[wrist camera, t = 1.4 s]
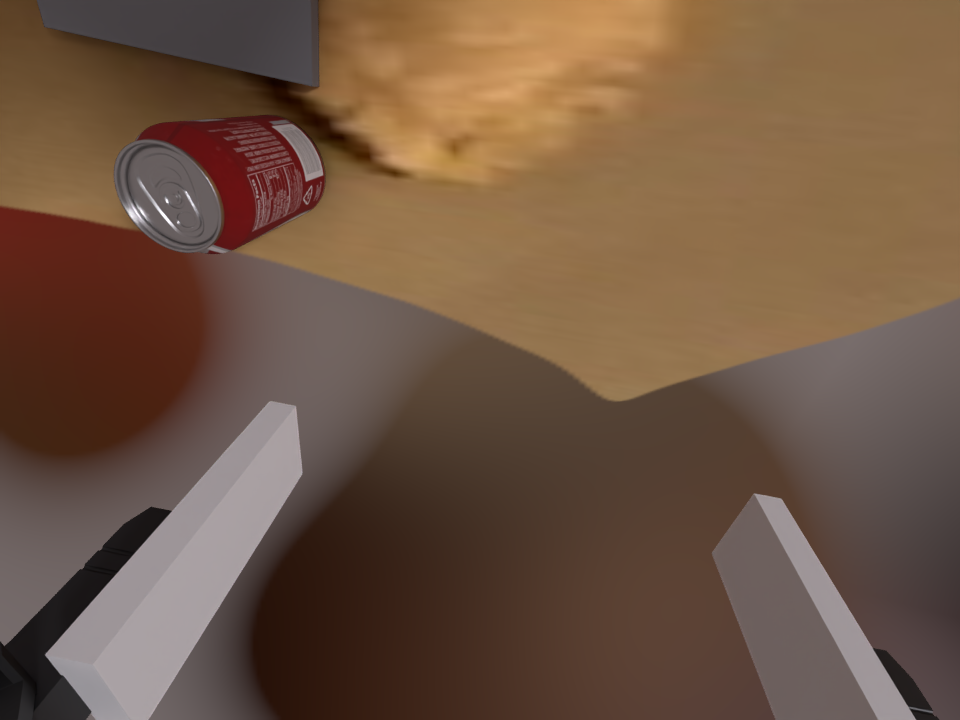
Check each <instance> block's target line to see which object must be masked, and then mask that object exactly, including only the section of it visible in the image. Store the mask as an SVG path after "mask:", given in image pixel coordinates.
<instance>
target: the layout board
mask: <svg viewBox="0 0 960 720" xmlns="http://www.w3.org/2000/svg"><path fill="white" fill-rule="evenodd" d="M37 3H38V6H39V10H40V13H41V17H42V20H43V24H44V27H47V28H52V29H56V30H61V31H65V32H70V33H74V34H79V35H83V36H88V37H92V38H97V39H101V40H106V41H110V42H115V43H119V44H124V45H128V46H133V47H137V48H142V49H146V50H151V51H155V52H160V53H164V54H169V55H173V56H178V57H182V58H187V59H191V60H196V61H200V62H205V63H209V64H214V65H218V66H223V67H227V68H232V69H236V70H241V71H245V72H250V73H254V74H259V75H263V76H268V77H272V78H277V79H281V80H286V81H290V82H295V83H299V84H304V85H308V86H315V87H319V31H318V0H37Z"/></svg>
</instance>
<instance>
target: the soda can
mask: <svg viewBox="0 0 960 720" xmlns="http://www.w3.org/2000/svg"><path fill="white" fill-rule="evenodd" d="M114 182H115V187H116V191H117V194H118V197H119V199H120V202H121V204H122V206H123V207H124V209H125V211H126V212H127V214H128V216H129V217H130V218H131V220H132V221H133V222H134V223H135V224H136V226H137V227H138V228H139V229H140V230H141V231H142V232H143V233H145V234H146V235H147V236H148V237H149V238H151V239H152V240H154V241H155V242H157V243H158V244H160V245H162V246H164V247H166V248H168V249H171V250H174V251H178V252H183V253H194V252H201V253H207V254H220V253H226V252H229V251H232V250H234V249H236V248H238V247H240V246H242V245H244V244H246V243H248V242H250V241H252V240H254V239H256V238H258V237H260V236H262V235H264V234H266V233H268V232H270V231H272V230H274V229H276V228H278V227H279V226H281V225H283V224H285V223H287V222H289V221H291V220H293V219H295V218H297V217H299V216H301V215H303V214H305V213H307V212H309V211H311V210H312V209H313V208H314V207H315V206H316V205H317V204H318V203H319V201H320V200H321V198H322V196H323V193H324V189H325V183H326V173H325V167H324V163H323V160H322V157H321V154H320V152H319V150H318V148H317V146H316V145H315V143H314V142H313V140H312V139H311V138H310V137H309V135H308V134H307V133H306V132H305V131H304V130H303V129H301V128H300V127H299V126H298V125H296V124H295V123H293V122H292V121H290V120H288V119H285V118H283V117H279V116H275V115H260V116H246V117H232V118H219V119H205V120H192V121H178V122H166V123H159V124H156V125H153V126H151V127H149V128H147V129H145V130H144V131H143V132H142V133H141V134H140V135H139V136H138V137H137V139H136V140H135V141H134V142H132V143H130V144H128V145H127V146H125V147H124V148H123V149H122V150H121V151H120V153H119V154H118V157H117V159H116V162H115V166H114Z"/></svg>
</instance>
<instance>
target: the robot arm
mask: <svg viewBox="0 0 960 720" xmlns="http://www.w3.org/2000/svg"><path fill="white" fill-rule="evenodd" d="M302 474H303V473H302V463H301V454H300V443H299V432H298V421H297V411H296V406H294V405H289V404H284V403H279V402H274V401H269V402H268V403H267V405H266V406H265V407H264V408H263V409H262V410H261V411H260V412H259V414H258V415H257V416H256V417H255V418H254V419H253V420H252V421H251V423H250V424H249V425H248V426H247V427H246V428H245V429H244V431H243V432H242V433H241V434H240V435H239V436H238V437H237V438H236V440H235V441H234V442H233V443H232V444H231V445H230V446H229V447H228V449H227V450H226V451H225V452H224V453H223V454H222V456H221V457H220V458H219V459H218V460H217V461H216V462H215V463H214V464H213V466H212V467H211V468H210V469H209V470H208V471H207V472H206V474H205V475H204V476H203V477H202V478H201V479H200V480H199V481H198V483H197V484H196V485H195V486H194V487H193V488H192V489H191V491H190V492H189V493H188V494H187V495H186V496H185V497H184V498H183V500H182V501H181V502H180V503H179V504H178V505H177V506H176V507H175V508H174V510H173V511H169V510H164V509H159V508H154V507H150V508H149V509H147V510H145V511H144V512H142V513H141V514H139V515H138V516H136V517H134V518H133V519H131V520H130V521H128V522H126V523H125V524H124V525H123V526H122V527H121V528H120V529H119V530H118V531H117V532H116V533H115V534H114V535H113V536H112V537H111V538H110V539H109V540H108V541H107V542H106V543H105V544H104V545H103V548H102V550H100V551H97V552H96V553H95V554H94V555H93V556H92V558H91V559H90V560H89V561H88V562H87V563H86V564H85V566H84V568H83V569H80V570H79V571H78V572H77V573H76V574H75V575H74V576H73V577H72V578H71V579H70V580H69V581H68V582H67V583H66V585H64V586H63V587H62V588H61V590H59V592H57V594H56V595H55V596H54V597H53V598H52V599H51V600H50V601H49V602H48V603H47V604H46V605H45V606H44V607H43V608H42V609H41V610H40V611H39V612H38V613H37V614H36V615H35V616H34V617H33V618H32V619H31V620H30V621H29V622H28V623H27V624H26V625H25V626H24V628H23V629H22V630H21V631H20V632H19V633H18V634H17V635H16V636H15V637H14V638H13V639H12V640H11V641H10V642H9V643H8V644H6V645H5V646H4V645H3V644H2V643H1V642H0V720H86V718H87V717H88V716H89V714H90V713H91V714H92V715H93V716H94V718H95V719H96V720H148V719H149V718H150V716H151V715H152V713H153V711H154V710H155V708H156V707H157V705H158V703H159V702H160V700H161V699H162V697H163V696H164V694H165V692H166V691H167V689H168V687H169V686H170V684H171V683H172V681H173V680H174V678H175V676H176V675H177V673H178V672H179V670H180V668H181V667H182V665H183V663H184V662H185V660H186V659H187V657H188V656H189V654H190V652H191V651H192V649H193V648H194V646H195V644H196V643H197V641H198V640H199V638H200V636H201V635H202V633H203V632H204V630H205V628H206V627H207V625H208V624H209V622H210V620H211V619H212V617H213V616H214V614H215V612H216V611H217V609H218V608H219V606H220V605H221V603H222V601H223V600H224V598H225V596H226V595H227V593H228V592H229V590H230V589H231V587H232V585H233V584H234V582H235V581H236V579H237V577H238V575H239V574H240V572H241V571H242V569H243V568H244V566H245V565H246V563H247V561H248V560H249V558H250V556H251V555H252V553H253V552H254V550H255V549H256V547H257V545H258V544H259V542H260V540H261V539H262V537H263V536H264V534H265V533H266V531H267V529H268V528H269V526H270V525H271V523H272V521H273V520H274V518H275V517H276V515H277V514H278V512H279V510H280V509H281V507H282V505H283V504H284V502H285V501H286V499H287V498H288V496H289V494H290V493H291V491H292V490H293V488H294V486H295V485H296V483H297V481H298V480H299V478H300V476H301V475H302ZM712 555H713V558H714V560H715V563H716V566H717V568H718V571H719V573H720V576H721V579H722V581H723V584H724V586H725V589H726V591H727V594H728V597H729V599H730V602H731V604H732V607H733V610H734V612H735V615H736V618H737V620H738V623H739V625H740V628H741V630H742V633H743V636H744V639H745V641H746V644H747V646H748V649H749V651H750V654H751V657H752V659H753V662H754V665H755V667H756V670H757V672H758V675H759V678H760V680H761V683H762V685H763V688H764V690H765V693H766V696H767V698H768V701H769V704H770V706H771V709H772V711H773V714H774V717H775V719H776V720H939V719H938V718H937V717H935V716H934V715H933V713H932V711H933V710H932V708H931V707H930V705H929V704H928V702H927V701H926V699H925V697H924V696H923V694H922V693H921V691H920V690H919V688H918V687H917V685H916V683H915V682H914V681H913V679H912V678H911V677H910V676H909V675H908V674H907V673H906V671H905V670H904V669H903V668H902V667H901V666H900V665H899V664H898V663H897V662H896V661H895V660H894V659H893V657H891V655H890V654H889V653H888V652H887V651H885V650H880V649H875V648H872V647H871V645H870V643H869V642H868V640H867V638H866V637H865V635H864V634H863V632H862V630H861V629H860V627H859V625H858V624H857V622H856V620H855V619H854V617H853V616H852V614H851V612H850V611H849V609H848V607H847V606H846V604H845V603H844V601H843V599H842V597H841V596H840V594H839V593H838V591H837V589H836V588H835V586H834V584H833V583H832V581H831V580H830V578H829V576H828V574H827V573H826V571H825V570H824V568H823V566H822V565H821V563H820V561H819V560H818V558H817V557H816V555H815V553H814V552H813V550H812V548H811V547H810V545H809V544H808V542H807V540H806V538H805V537H804V535H803V534H802V532H801V530H800V529H799V527H798V525H797V524H796V522H795V520H794V519H793V517H792V515H791V514H790V512H789V511H788V509H787V507H786V506H785V504H784V502H783V501H782V499H780V498H774V497H770V496H764V495H759V494H753V496H752V497H751V498H750V500H749V502H748V503H747V504H746V506H745V507H744V508H743V510H742V511H741V513H740V514H739V515H738V517H737V518H736V520H735V521H734V522H733V524H732V526H731V527H730V528H729V530H728V531H727V532H726V534H725V535H724V537H723V538H722V540H721V541H720V542H719V544H718V545H717V547H716V548H715V550H714V551H713V552H712Z"/></svg>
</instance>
